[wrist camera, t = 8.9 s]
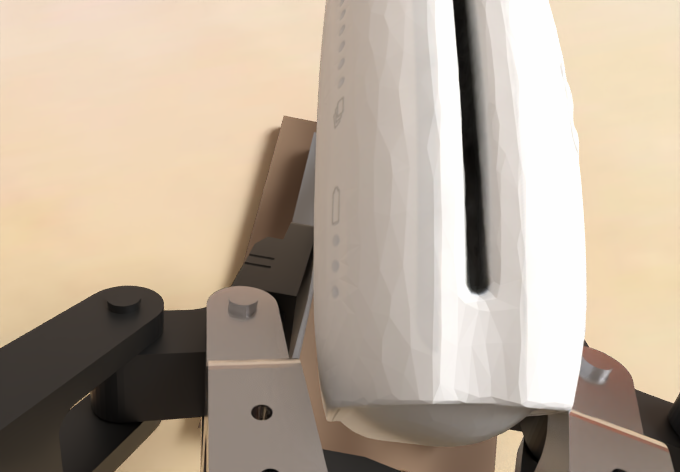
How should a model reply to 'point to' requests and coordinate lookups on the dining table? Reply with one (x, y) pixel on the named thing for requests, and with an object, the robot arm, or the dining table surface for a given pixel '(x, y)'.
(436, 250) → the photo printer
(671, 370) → the dining table surface
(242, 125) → the dining table surface
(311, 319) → the cradle
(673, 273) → the dining table surface
